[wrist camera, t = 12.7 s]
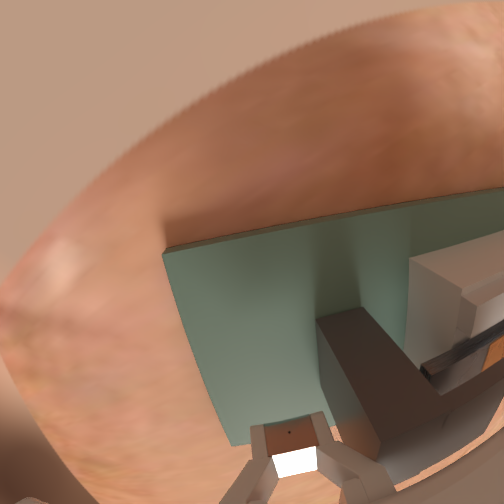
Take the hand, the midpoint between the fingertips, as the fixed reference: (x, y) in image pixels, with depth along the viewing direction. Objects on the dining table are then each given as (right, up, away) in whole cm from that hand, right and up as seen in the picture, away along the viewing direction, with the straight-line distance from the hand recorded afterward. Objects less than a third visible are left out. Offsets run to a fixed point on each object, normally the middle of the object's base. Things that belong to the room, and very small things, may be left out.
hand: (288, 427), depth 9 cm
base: (+10, +3, +5) cm, 12 cm away
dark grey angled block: (+5, +2, +4) cm, 6 cm away
